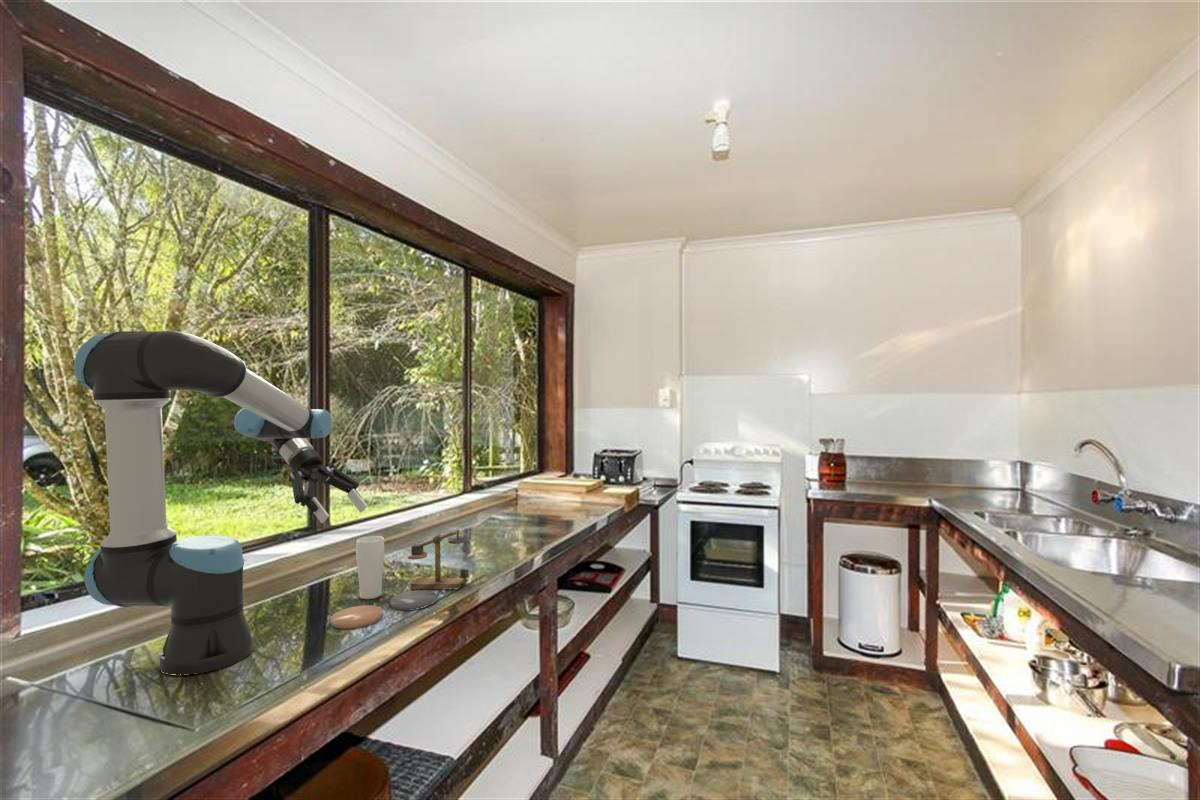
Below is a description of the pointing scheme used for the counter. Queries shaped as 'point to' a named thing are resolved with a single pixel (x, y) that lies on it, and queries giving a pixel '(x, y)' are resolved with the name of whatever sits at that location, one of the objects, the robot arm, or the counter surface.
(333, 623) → the pink oval pebble
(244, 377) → the robot arm
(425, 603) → the charcoal dish
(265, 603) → the counter surface
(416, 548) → the balance
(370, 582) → the drinking glass
